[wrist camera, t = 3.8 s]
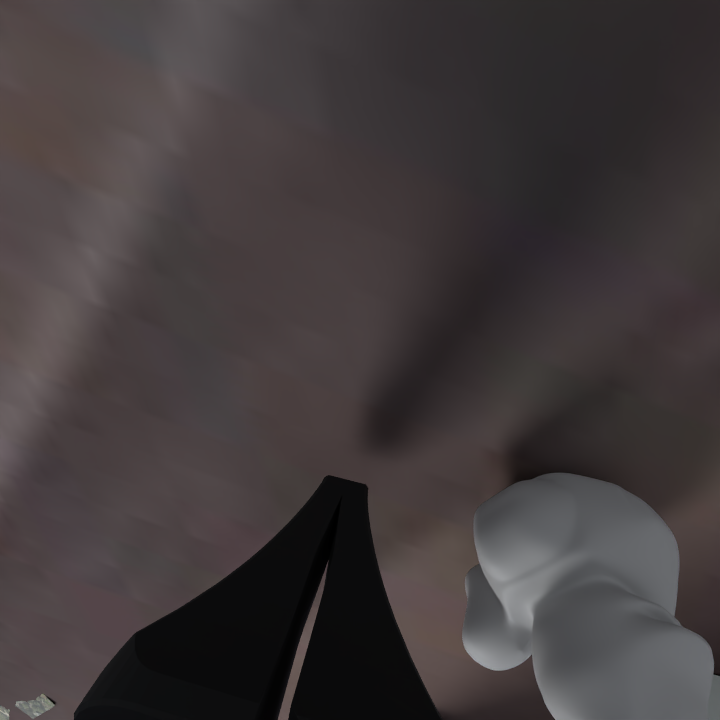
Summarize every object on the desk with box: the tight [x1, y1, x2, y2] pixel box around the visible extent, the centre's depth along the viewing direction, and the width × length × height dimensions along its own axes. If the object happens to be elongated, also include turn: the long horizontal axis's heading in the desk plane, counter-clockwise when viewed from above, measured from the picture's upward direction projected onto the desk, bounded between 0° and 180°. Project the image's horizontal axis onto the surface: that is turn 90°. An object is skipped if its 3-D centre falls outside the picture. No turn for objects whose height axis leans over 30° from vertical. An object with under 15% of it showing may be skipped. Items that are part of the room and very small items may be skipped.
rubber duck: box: [462, 473, 714, 720], centre depth 10 cm, size 5×7×8 cm
